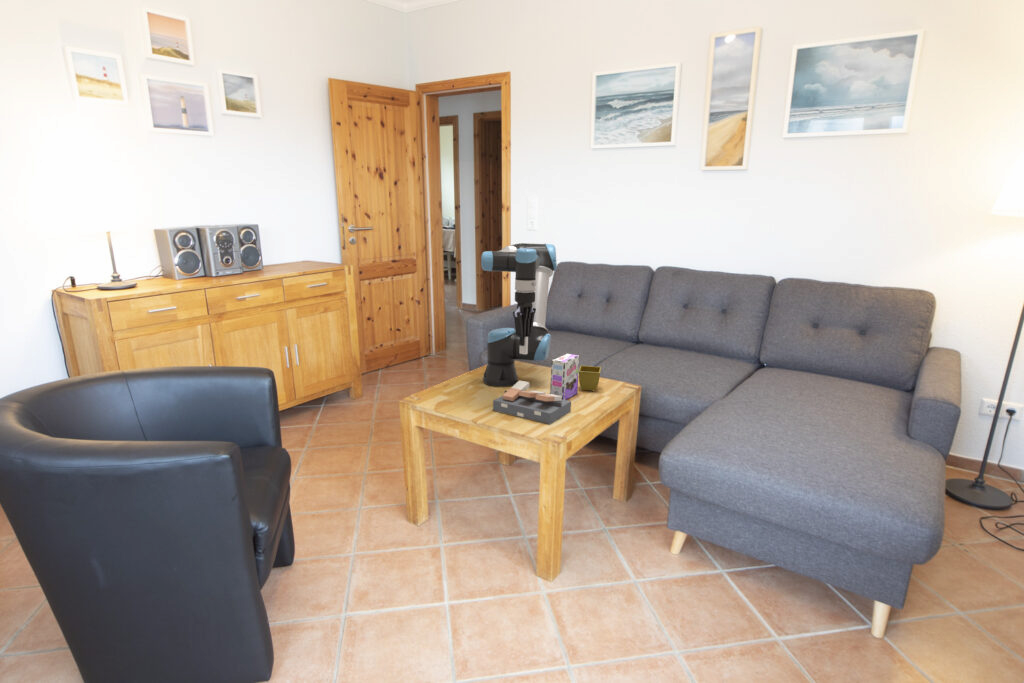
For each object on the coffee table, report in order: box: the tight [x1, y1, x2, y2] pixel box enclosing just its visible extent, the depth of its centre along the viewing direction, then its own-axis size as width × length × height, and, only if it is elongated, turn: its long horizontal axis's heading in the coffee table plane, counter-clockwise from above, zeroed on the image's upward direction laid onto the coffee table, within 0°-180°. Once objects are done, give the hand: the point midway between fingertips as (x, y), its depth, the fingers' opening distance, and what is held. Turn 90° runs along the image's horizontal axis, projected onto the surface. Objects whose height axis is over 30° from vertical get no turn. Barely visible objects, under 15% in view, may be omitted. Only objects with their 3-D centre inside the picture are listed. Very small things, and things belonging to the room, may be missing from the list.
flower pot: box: [578, 365, 602, 391], centre depth 233 cm, size 9×9×9 cm
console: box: [492, 390, 572, 425], centre depth 206 cm, size 24×16×6 cm
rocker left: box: [502, 379, 530, 401], centre depth 209 cm, size 4×12×2 cm, turn 147°
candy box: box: [549, 353, 580, 401], centre depth 222 cm, size 14×6×16 cm, turn 148°
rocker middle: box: [519, 390, 546, 398], centre depth 206 cm, size 4×12×2 cm, turn 147°
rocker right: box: [536, 393, 562, 401], centre depth 202 cm, size 4×12×2 cm, turn 147°
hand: (523, 353), depth 210 cm, fingers closed
